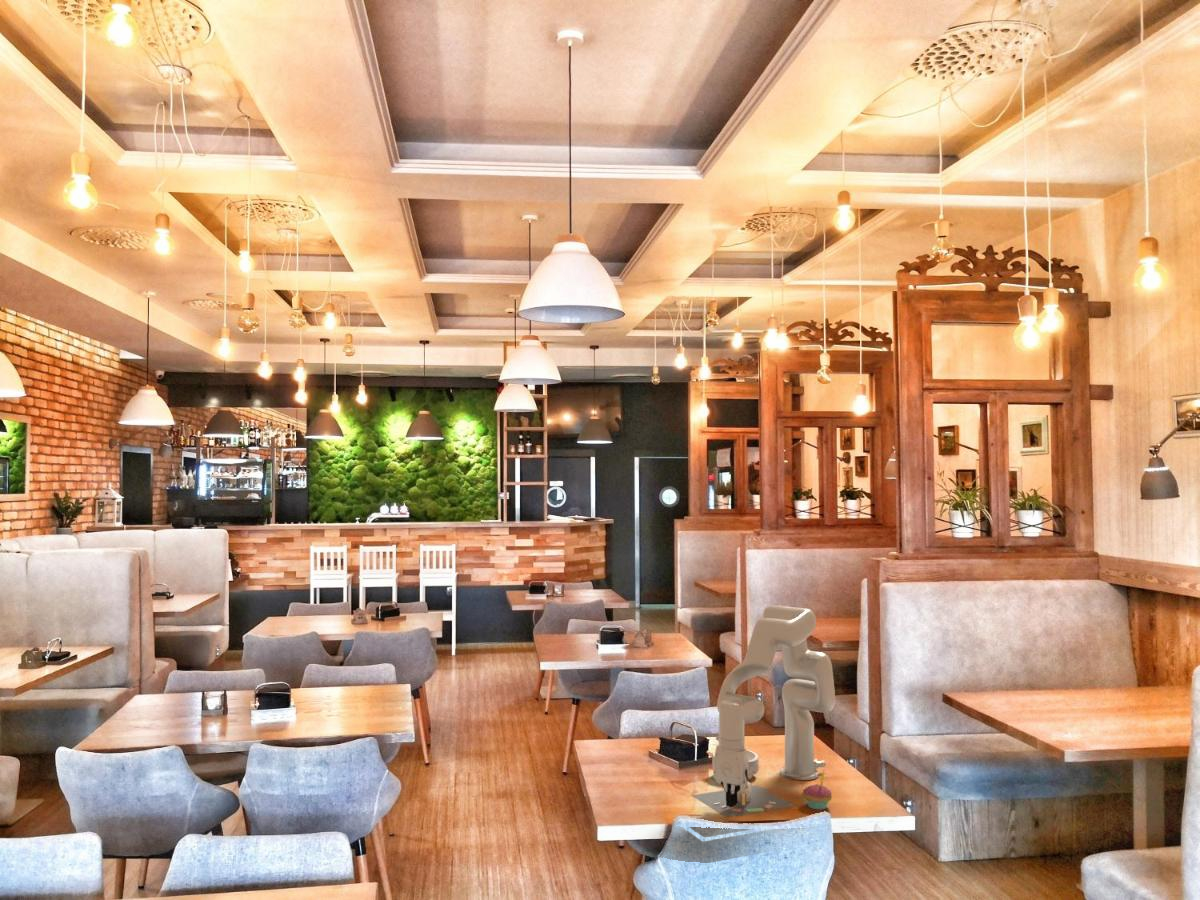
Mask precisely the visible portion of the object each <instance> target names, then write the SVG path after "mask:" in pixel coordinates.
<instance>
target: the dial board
mask: <svg viewBox="0 0 1200 900" xmlns="http://www.w3.org/2000/svg"><path fill="white" fill-rule="evenodd" d="M691 796H692V797H694V798H695V799H696V800H698V801H700V802H701V803H703V804H704V805H706V806H708V807H709V808H711V809H713V810H714V811H716V812H718V813H719V814H721V815H722V816H724V817H726V818H730V817H732V818H733V817H737V816H743V815H749V814H754V813H755V814H756V813H761V812H766V811H767V812H768V811H773V810H780V809H784V808H785V809H786V808H789V807H795V805H794V804H792V803H791V802H789V801H787V800H785V799H783V798H781V797H779V796H778V795H776V794H774V793H772V792H770V791H768V790H766V789H764V788H763V787H761V786H759V785H751V801H750V802H747V803H746V804H745V805H742V804H740V802H737V804H736V805H735V806H733V807H729V806H726V792H725V791H724V789H723V790H717V791H711V792H705V793H704V792H703V793H697V794H693V795H691Z"/></svg>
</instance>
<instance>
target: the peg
mask: <svg viewBox="0 0 1200 900" xmlns="http://www.w3.org/2000/svg"><path fill="white" fill-rule="evenodd" d="M747 784H748V788H747V789H740V790H739V791H738V792H737V802H740V804H742V805H745V804H746V803H747V802H750V801H751V786H752V783H751V782H749V781H748V782H747Z"/></svg>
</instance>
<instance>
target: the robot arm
mask: <svg viewBox="0 0 1200 900" xmlns="http://www.w3.org/2000/svg"><path fill="white" fill-rule="evenodd" d="M762 616H763V618H760V619H758V620H757V621H756V623H755V624H754V627H753V630H752V632H751V637H750V641H749V643H748V646H747V650H746V654H745V656H744V659H743V661H742V662H741V663H738V665H737V666H736V667H734V668H733V669H732V670H731V671H730V672H729V673H728V674H727V675H726V677H725V678H724V680H723V682H722V684H721V688H720V691H719V694H718V698H717V703H716V707H717V712H718V735H717V736H716V737H715V740H716V741H718V745H716V748H715V751H714V752H715V756H714V766H713V769H712V771H713V772H712V776H713V779H715V782H717V784H719V785H721V786H722V788H723V790H724V791H725V792H726V806H729V807H733V806H735V805H736V804H737V792H738V791H739V790H740V789H747V788H748V784H747V782H749V780H750V779H749V765H748V756H747V751H746V750H747V749H746V748H745V726H746V725H745V724H754V723H757V722H759V721H760V720H761V719H762V718H763V717H764V714H765V705H764V703H763V701H762V700H761V699H759V698H757V697H754V696H748V695H746V694H745V695H744V694H738V693H736V691H737V689H738V687H740V685H741V684H742V683H744V682H746V681H748V680H749V679H753V678H755V677H758V676H762V675H764V674H767V673H769V672H770V671H771V669H772V666H773V662H774V659H775V656H776V655H775V654H776V652H777V649H778V647H781V648H780V649H781V655H782V656H781V657H782V664H783V670H784V673H785V674H786V675H787V676H788V677H789V678H790V679H788V680H786V681H785V682H784V683H783V685H782V689H781V695H782V701H783V707H784V766H782V767H780V769H779V773H780V775H781V776H783V777H785V778H787V779H789V780H790V779H791V780H797V781H810V780H814V779H817V778H819V771H818V770H817V769H818V768H825V767H826V761H825V760H819V761H818V759H815V756H814V755H815V722H814V719H813V716H812V714H811V712H817V713H830V712H831V711H832V710H833V709H834V707H835V703H836V695H835V693H836V691H835V682H834V672H833V664H832V661H831V659H830V657H829V656H828V655H827V654H826V653H824V652H820V651H815V650H810V649H809V648H808V642H807V639H808V638H809V637H810V636H811V635H812V633H813V632H814V631H815V629H816V626H817V618H816V615H815V612H813V611H812V610H811V609H809V608H805V607H804V608H803V607H794V606H786V605H776V604H775V605H774V604H773V605H772V604H771V605H768V606H766V607H765V608H764V610H763V613H762ZM810 711H811V712H810Z"/></svg>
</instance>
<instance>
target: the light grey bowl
mask: <svg viewBox="0 0 1200 900" xmlns="http://www.w3.org/2000/svg"><path fill="white" fill-rule="evenodd" d="M746 751H747V756H748V765H749V780H751V779H752V778H753V776H754V775H756V774H758V772H759V770H760V767H759V765H760V764H759V763H760V762H759V755H758V754H757V753H756V752H754V751H752V750H749V749H746ZM714 756H715V751H713V753H712V755H711V760H712V762H711V763H712V765H711V766H712V770H713V766H714Z"/></svg>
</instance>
